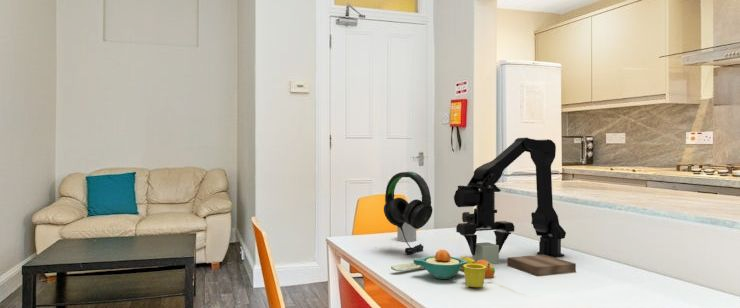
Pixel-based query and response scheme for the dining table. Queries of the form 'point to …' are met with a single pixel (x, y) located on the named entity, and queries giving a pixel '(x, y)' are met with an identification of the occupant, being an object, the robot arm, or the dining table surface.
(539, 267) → the walnut plinth
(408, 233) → the grey block
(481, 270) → the toy juicer set
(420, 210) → the headset
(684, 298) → the dining table surface
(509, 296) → the dining table surface
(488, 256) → the sage block
